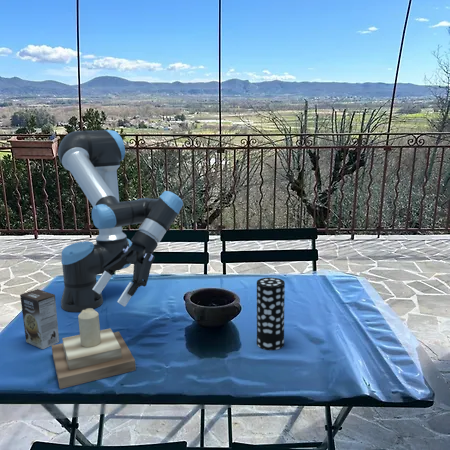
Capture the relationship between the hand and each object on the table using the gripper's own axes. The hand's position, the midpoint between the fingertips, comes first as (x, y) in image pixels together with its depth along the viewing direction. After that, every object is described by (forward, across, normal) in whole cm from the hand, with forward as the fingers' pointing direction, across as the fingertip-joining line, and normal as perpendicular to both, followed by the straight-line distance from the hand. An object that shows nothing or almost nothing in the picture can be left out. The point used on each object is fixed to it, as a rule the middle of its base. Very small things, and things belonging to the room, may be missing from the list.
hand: (108, 298), depth 129 cm
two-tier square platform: (+17, +1, -8) cm, 19 cm away
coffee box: (+21, +23, -5) cm, 32 cm away
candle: (+13, +1, -4) cm, 14 cm away
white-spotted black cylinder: (-13, -29, -39) cm, 51 cm away
